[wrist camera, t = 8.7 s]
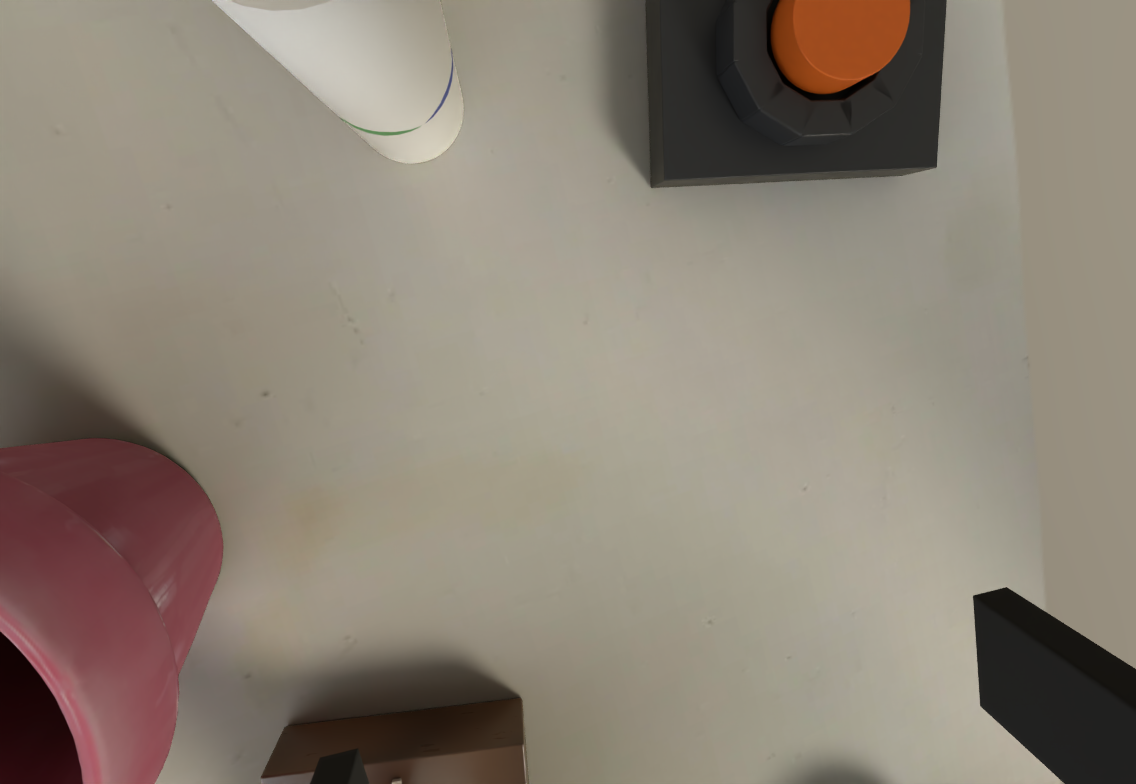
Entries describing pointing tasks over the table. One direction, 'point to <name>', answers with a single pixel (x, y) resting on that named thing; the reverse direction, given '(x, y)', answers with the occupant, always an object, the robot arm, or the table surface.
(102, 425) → the table surface
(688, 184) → the button box
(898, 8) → the button
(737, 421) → the table surface
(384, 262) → the table surface
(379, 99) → the tube
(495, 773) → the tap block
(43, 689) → the flower pot
